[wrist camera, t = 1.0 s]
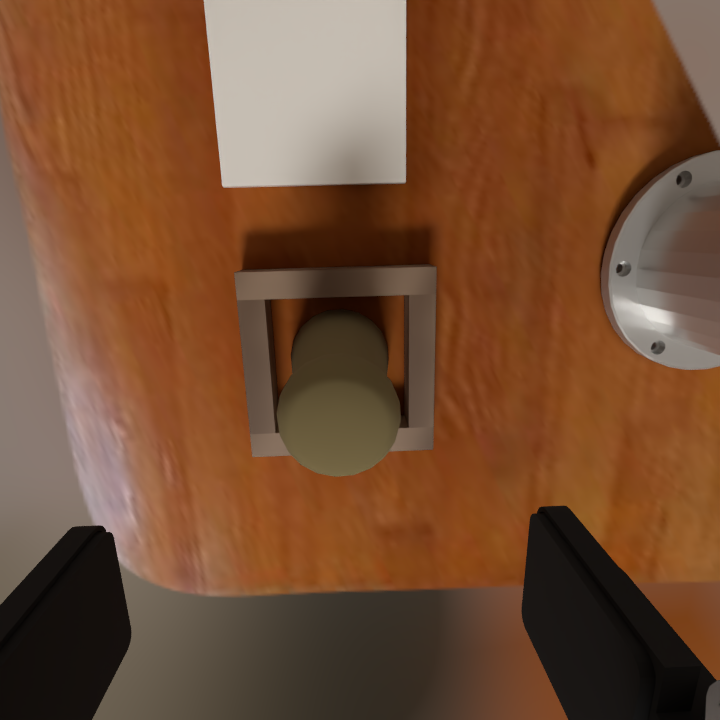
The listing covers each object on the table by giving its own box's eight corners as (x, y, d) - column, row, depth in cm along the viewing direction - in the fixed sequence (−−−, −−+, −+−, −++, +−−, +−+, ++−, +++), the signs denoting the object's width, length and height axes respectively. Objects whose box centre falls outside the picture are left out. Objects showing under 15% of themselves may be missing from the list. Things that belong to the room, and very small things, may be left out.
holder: (429, 264, 27) (436, 266, 25) (427, 435, 30) (432, 449, 28) (242, 269, 26) (234, 272, 25) (258, 442, 29) (252, 456, 27)
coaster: (404, -29, 23) (406, -36, 22) (404, 183, 26) (406, 182, 25) (203, -27, 23) (200, -34, 22) (225, 187, 25) (222, 186, 25)
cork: (292, 305, 27) (261, 351, 17) (392, 312, 27) (425, 361, 17) (289, 400, 29) (258, 497, 18) (384, 405, 29) (408, 503, 18)
